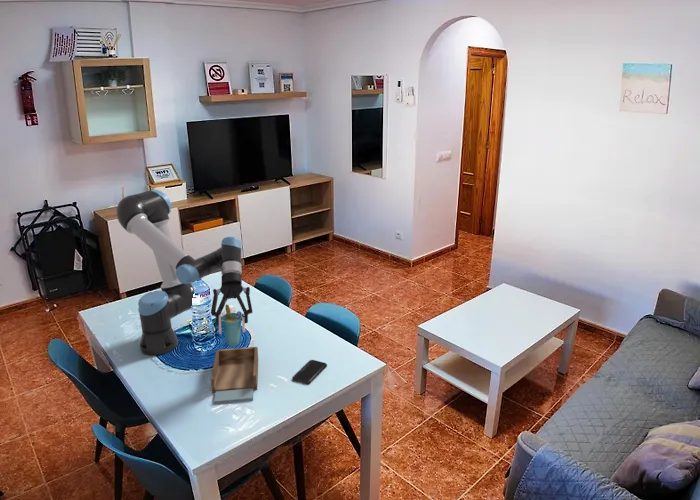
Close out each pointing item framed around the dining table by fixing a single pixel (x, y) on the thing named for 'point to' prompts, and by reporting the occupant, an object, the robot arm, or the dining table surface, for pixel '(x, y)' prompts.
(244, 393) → the panel
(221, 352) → the tray
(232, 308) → the game pieces
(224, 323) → the cup
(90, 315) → the dining table surface
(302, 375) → the phone
